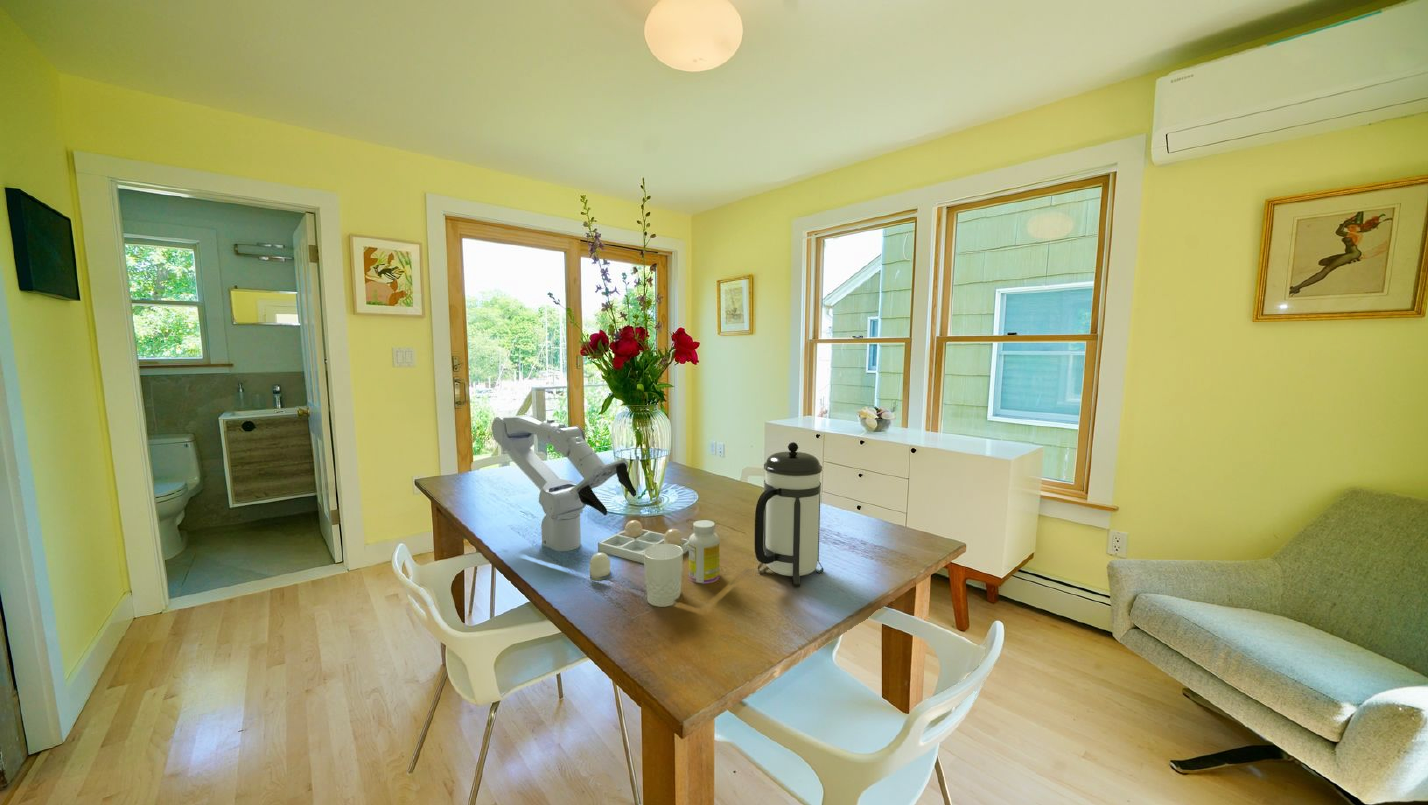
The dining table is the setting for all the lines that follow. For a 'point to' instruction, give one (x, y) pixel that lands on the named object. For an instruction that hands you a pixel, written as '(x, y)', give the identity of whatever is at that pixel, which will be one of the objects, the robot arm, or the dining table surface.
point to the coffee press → (789, 515)
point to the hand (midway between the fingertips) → (620, 503)
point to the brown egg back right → (673, 537)
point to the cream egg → (599, 566)
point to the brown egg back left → (633, 529)
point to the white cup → (663, 574)
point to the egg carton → (634, 545)
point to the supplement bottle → (704, 553)
